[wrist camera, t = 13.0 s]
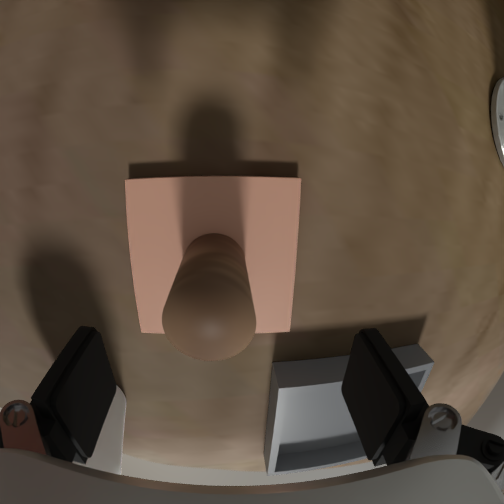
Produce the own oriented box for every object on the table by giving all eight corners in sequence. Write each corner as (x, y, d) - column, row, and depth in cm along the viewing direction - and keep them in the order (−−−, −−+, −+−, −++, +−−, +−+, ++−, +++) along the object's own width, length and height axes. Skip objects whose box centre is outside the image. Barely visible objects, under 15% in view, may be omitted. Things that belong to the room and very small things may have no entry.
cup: (102, 350, 24) (55, 450, 12) (153, 412, 26) (137, 508, 15) (46, 369, 24) (0, 448, 13) (95, 423, 27) (70, 503, 16)
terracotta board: (297, 177, 20) (301, 178, 20) (287, 325, 24) (289, 331, 23) (129, 178, 19) (125, 179, 18) (144, 326, 23) (141, 332, 22)
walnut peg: (245, 233, 20) (258, 280, 13) (245, 291, 22) (255, 360, 14) (181, 233, 20) (156, 280, 12) (185, 291, 21) (167, 359, 14)
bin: (417, 343, 27) (434, 362, 24) (378, 434, 32) (387, 452, 29) (272, 362, 25) (278, 388, 22) (263, 453, 30) (267, 475, 27)
